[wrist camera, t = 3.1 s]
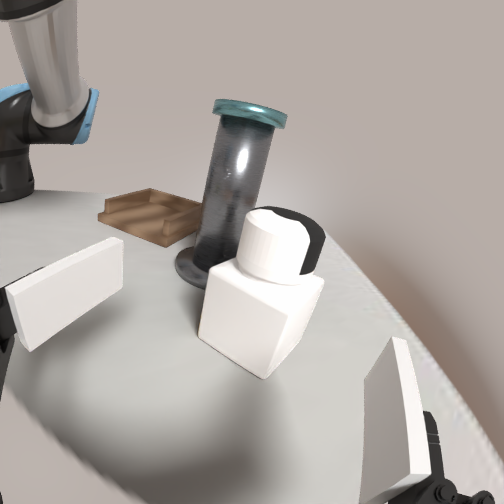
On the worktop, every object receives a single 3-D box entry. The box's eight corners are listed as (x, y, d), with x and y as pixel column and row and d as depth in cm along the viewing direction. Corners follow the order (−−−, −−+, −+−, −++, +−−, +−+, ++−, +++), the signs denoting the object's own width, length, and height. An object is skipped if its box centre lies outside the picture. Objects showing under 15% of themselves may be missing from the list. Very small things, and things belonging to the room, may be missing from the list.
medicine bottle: (241, 308, 29) (270, 196, 24) (300, 341, 26) (346, 226, 21) (195, 337, 23) (220, 202, 19) (264, 382, 20) (317, 243, 16)
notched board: (97, 220, 40) (98, 199, 39) (147, 204, 53) (149, 187, 51) (166, 247, 38) (169, 223, 36) (208, 223, 50) (212, 205, 49)
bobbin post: (159, 271, 32) (189, 93, 24) (197, 245, 41) (226, 107, 33) (238, 303, 30) (288, 109, 22) (262, 268, 39) (301, 123, 31)
